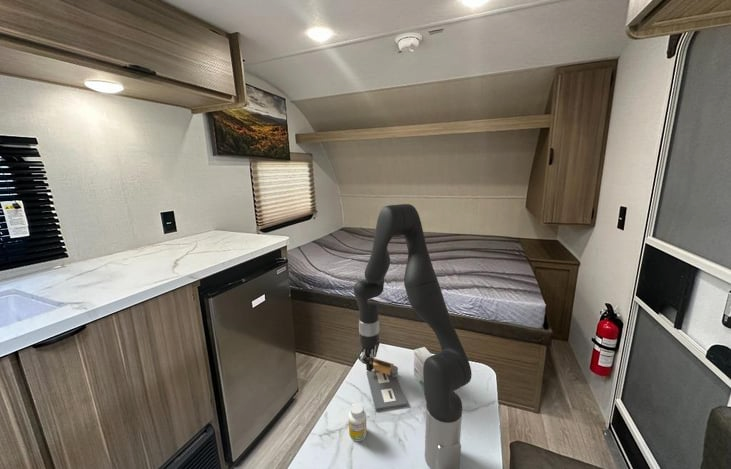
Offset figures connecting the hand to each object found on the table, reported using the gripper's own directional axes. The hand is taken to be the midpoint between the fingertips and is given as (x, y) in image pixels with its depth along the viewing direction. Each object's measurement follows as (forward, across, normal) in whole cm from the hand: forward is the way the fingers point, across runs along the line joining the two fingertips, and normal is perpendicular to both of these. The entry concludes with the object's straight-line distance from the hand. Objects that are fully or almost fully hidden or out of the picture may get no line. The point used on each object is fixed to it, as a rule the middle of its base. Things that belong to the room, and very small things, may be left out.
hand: (369, 369), depth 111 cm
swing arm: (+1, +4, -4) cm, 6 cm away
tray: (+4, -2, -8) cm, 9 cm away
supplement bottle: (+4, -22, -8) cm, 24 cm away
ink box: (+4, +8, -19) cm, 21 cm away
